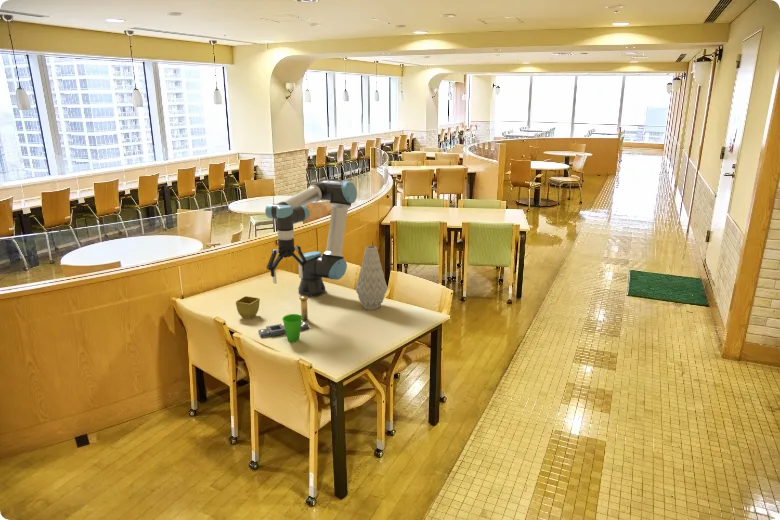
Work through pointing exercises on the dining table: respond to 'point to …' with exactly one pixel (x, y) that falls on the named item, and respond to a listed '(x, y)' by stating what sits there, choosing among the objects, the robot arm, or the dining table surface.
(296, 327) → the cup
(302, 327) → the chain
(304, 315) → the brass pin
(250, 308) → the flower pot
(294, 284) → the dining table surface
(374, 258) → the vase
